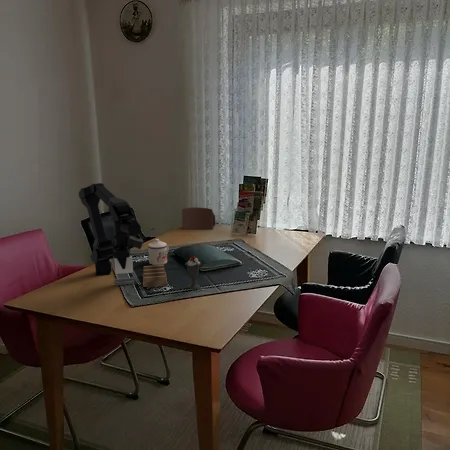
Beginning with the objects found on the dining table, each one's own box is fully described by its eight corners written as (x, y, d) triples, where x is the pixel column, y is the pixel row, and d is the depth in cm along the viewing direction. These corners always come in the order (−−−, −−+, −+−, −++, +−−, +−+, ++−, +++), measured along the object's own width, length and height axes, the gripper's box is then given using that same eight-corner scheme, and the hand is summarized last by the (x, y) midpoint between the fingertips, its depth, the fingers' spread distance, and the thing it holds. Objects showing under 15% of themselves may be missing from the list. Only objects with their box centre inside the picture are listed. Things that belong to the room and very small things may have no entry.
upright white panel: (115, 273, 178) (114, 258, 176) (115, 271, 180) (114, 257, 178) (132, 272, 179) (131, 257, 177) (132, 270, 181) (131, 256, 180)
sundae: (189, 291, 171) (188, 255, 167) (183, 285, 177) (181, 251, 173) (204, 288, 174) (203, 252, 170) (197, 282, 180) (196, 248, 176)
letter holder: (213, 230, 268) (212, 207, 264) (182, 229, 270) (181, 207, 267) (215, 226, 277) (215, 204, 274) (185, 225, 280) (185, 204, 277)
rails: (114, 285, 178) (114, 282, 177) (115, 281, 182) (115, 279, 182) (134, 284, 179) (134, 281, 179) (134, 280, 184) (134, 277, 183)
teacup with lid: (159, 266, 200) (157, 243, 197) (144, 263, 205) (143, 240, 202) (175, 259, 210) (174, 237, 207) (161, 257, 215) (160, 234, 212)
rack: (143, 287, 175) (142, 278, 174) (142, 275, 189) (142, 266, 188) (167, 285, 177) (167, 276, 176) (165, 273, 191) (165, 264, 190)
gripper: (141, 236, 168) (143, 273, 172) (141, 225, 186) (143, 259, 189) (112, 238, 166) (115, 276, 169) (115, 227, 184) (117, 261, 187)
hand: (124, 267), depth 179 cm, fingers closed on upright white panel, 2 cm apart
